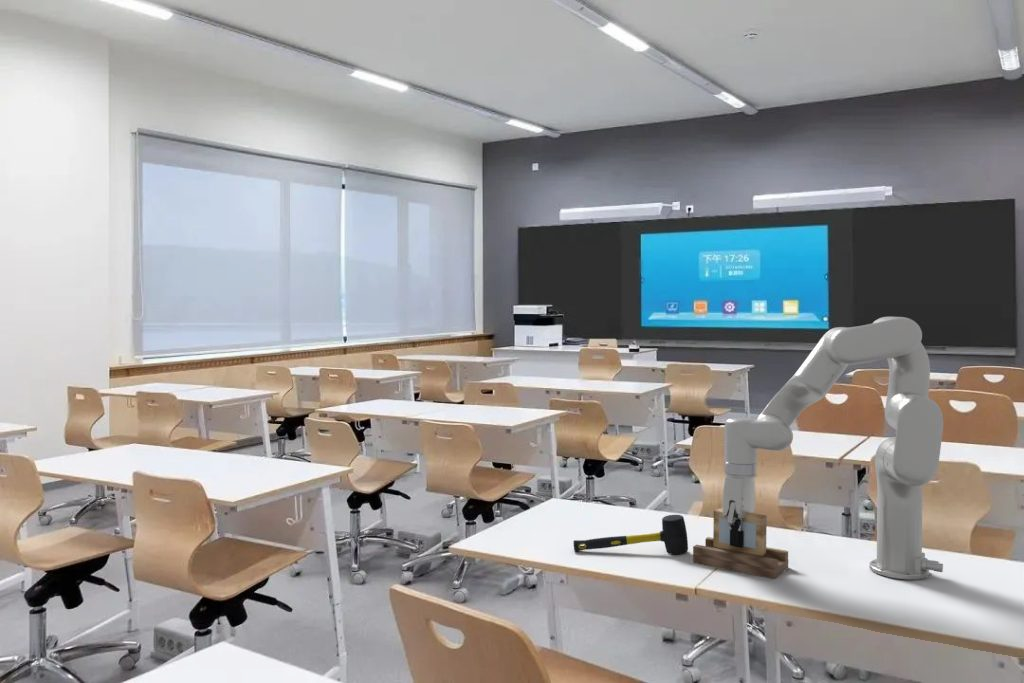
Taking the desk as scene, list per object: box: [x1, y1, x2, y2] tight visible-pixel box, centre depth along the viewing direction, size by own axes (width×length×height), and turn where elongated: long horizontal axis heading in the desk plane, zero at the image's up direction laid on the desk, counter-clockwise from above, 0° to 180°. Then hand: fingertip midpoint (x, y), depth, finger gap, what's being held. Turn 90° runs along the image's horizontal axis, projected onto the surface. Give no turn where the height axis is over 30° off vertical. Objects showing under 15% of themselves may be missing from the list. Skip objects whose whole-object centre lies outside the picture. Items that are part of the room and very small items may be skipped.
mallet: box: [572, 514, 689, 556], centre depth 202 cm, size 29×6×10 cm, turn 87°
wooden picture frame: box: [712, 507, 768, 556], centre depth 190 cm, size 12×3×9 cm, turn 54°
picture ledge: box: [692, 536, 789, 580], centre depth 190 cm, size 20×10×4 cm, turn 54°
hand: (739, 543), depth 190 cm, fingers closed on wooden picture frame, 3 cm apart
